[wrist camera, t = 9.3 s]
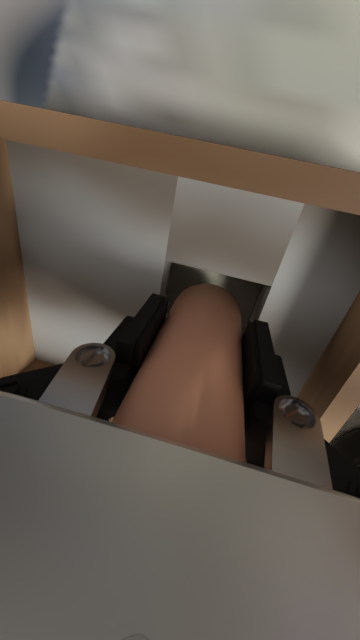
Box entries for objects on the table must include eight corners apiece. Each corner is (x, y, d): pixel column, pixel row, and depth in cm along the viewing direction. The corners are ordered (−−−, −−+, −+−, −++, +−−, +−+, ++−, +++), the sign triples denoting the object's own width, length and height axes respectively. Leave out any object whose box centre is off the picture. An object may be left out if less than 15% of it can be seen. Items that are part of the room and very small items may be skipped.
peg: (178, 275, 13) (-4, 567, 3) (250, 293, 12) (299, 677, 3) (167, 335, 14) (31, 636, 5) (229, 352, 14) (215, 706, 5)
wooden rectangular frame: (16, 114, 12) (-91, 81, 8) (412, 196, 10) (517, 204, 7) (43, 349, 19) (-7, 392, 15) (283, 417, 17) (296, 484, 14)
